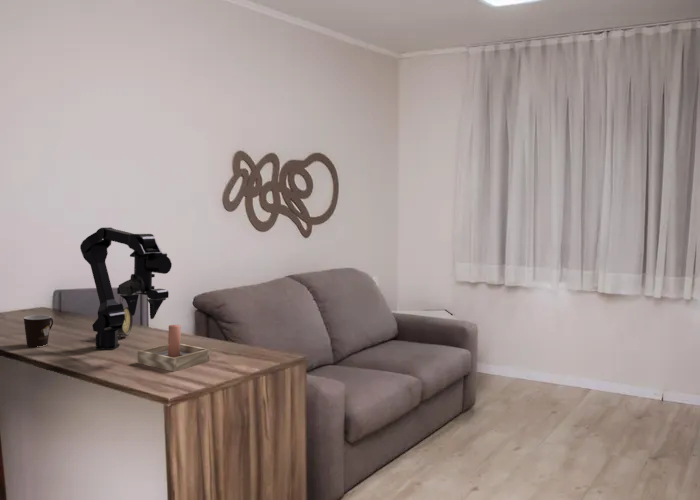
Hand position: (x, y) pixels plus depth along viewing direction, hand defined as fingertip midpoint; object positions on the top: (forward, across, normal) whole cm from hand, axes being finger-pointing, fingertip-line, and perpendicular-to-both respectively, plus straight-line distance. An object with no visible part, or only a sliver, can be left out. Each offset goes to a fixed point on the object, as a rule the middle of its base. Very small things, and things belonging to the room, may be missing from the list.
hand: (142, 317), depth 210 cm
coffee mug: (+13, -37, -12) cm, 41 cm away
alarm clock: (+13, -26, +13) cm, 32 cm away
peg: (+13, +15, 0) cm, 20 cm away
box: (+13, +15, 0) cm, 20 cm away
